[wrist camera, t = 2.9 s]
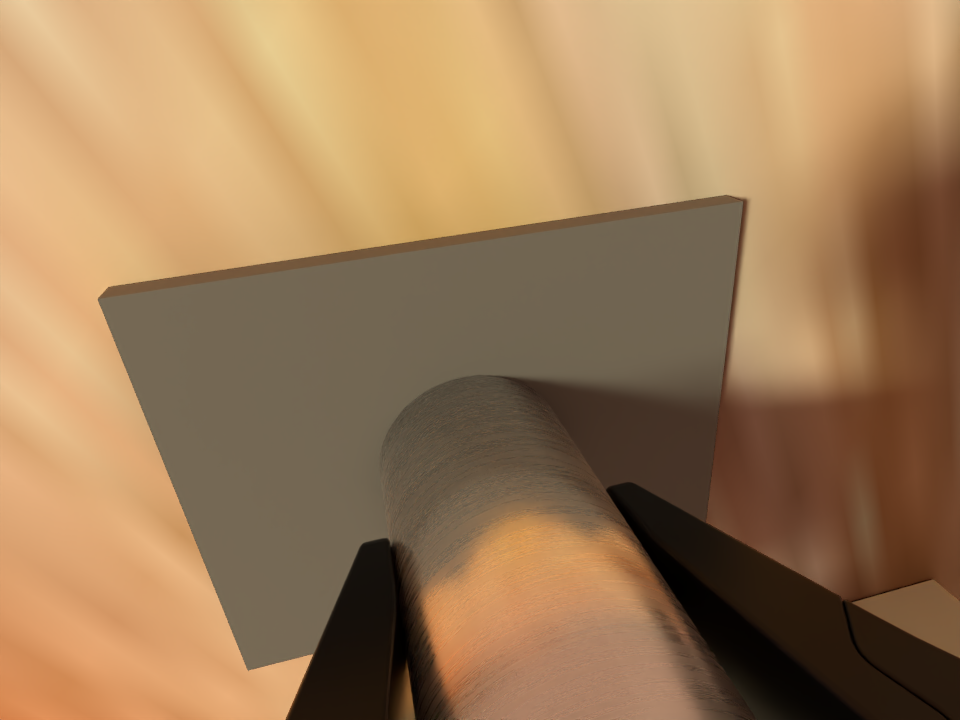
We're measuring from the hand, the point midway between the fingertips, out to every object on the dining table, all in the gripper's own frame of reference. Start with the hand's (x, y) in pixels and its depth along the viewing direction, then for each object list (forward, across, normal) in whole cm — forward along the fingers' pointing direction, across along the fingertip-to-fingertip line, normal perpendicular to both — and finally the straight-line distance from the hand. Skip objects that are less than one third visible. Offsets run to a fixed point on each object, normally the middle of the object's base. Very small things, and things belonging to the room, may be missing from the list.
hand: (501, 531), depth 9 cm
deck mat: (+2, 0, 0) cm, 2 cm away
